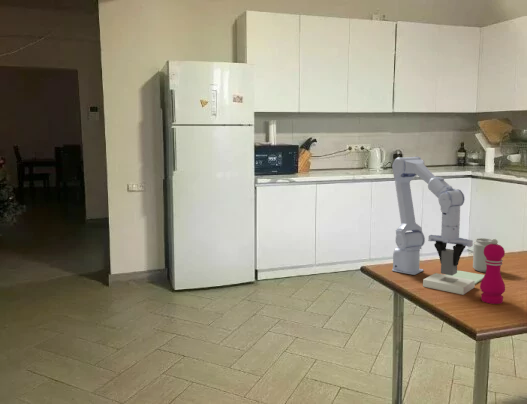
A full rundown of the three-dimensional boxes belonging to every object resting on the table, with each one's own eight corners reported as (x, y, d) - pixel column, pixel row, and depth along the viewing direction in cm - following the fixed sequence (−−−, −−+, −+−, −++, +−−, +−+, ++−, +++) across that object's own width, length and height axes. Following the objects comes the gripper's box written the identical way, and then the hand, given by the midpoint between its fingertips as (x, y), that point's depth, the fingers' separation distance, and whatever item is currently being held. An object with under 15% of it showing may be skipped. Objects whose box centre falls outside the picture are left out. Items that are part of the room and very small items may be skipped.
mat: (441, 278, 181) (441, 276, 181) (454, 270, 189) (454, 269, 189) (474, 284, 172) (474, 283, 172) (486, 276, 181) (486, 275, 181)
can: (495, 268, 191) (496, 238, 189) (492, 273, 185) (493, 242, 183) (474, 266, 195) (475, 236, 193) (471, 271, 189) (472, 240, 187)
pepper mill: (503, 306, 151) (506, 242, 149) (477, 302, 155) (480, 240, 152) (505, 299, 157) (508, 238, 155) (481, 295, 161) (483, 235, 158)
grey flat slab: (422, 286, 172) (423, 279, 172) (435, 279, 179) (435, 273, 179) (463, 294, 162) (463, 287, 162) (474, 287, 170) (474, 280, 169)
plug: (440, 273, 170) (441, 250, 169) (445, 270, 173) (446, 248, 172) (452, 275, 167) (453, 252, 166) (456, 272, 170) (457, 250, 169)
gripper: (425, 224, 170) (424, 262, 172) (467, 229, 160) (466, 270, 162) (433, 221, 175) (432, 258, 177) (475, 226, 165) (474, 265, 167)
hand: (449, 264), depth 170 cm, fingers closed on plug, 4 cm apart
